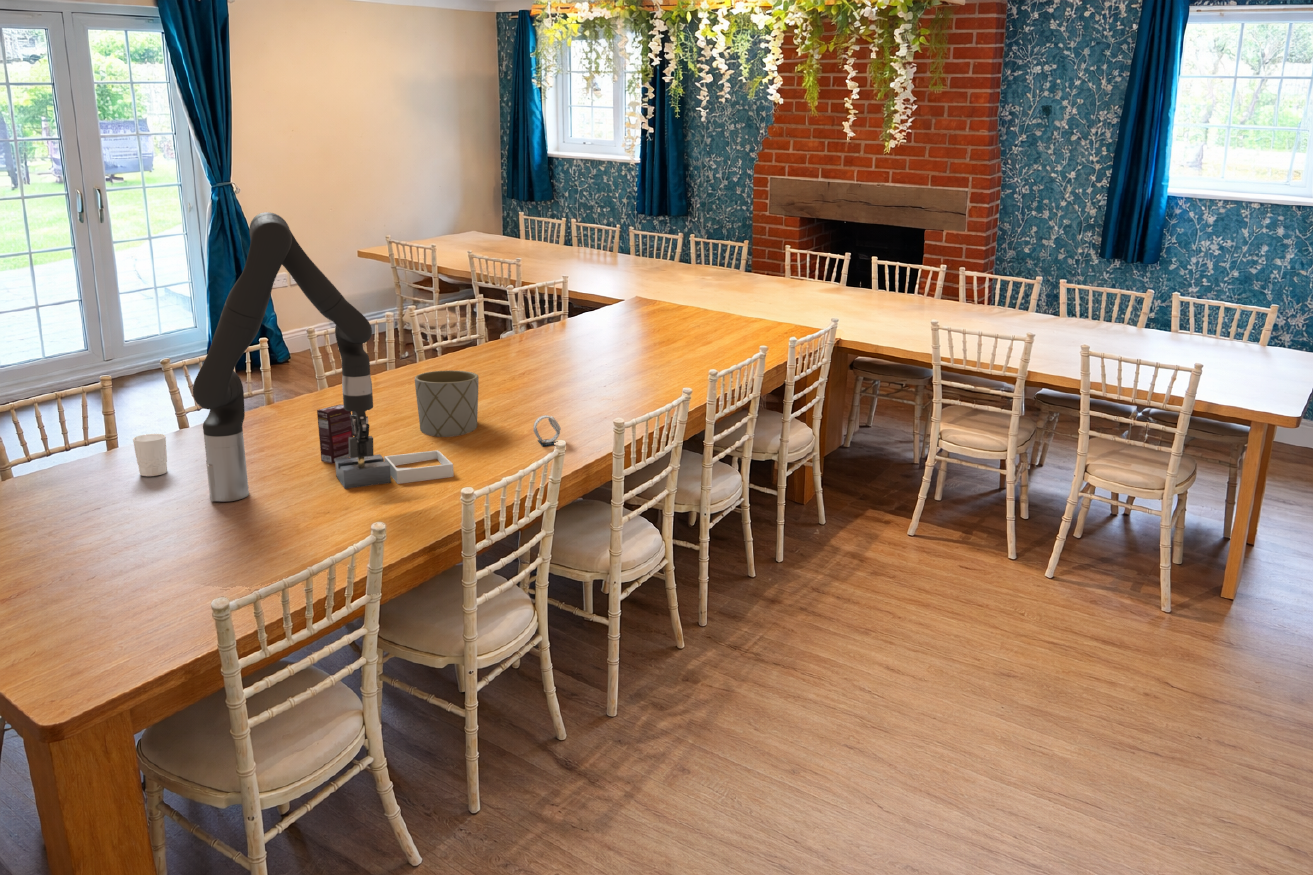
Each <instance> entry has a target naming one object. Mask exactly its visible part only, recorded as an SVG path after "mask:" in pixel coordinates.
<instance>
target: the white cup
mask: <svg viewBox="0 0 1313 875" xmlns="http://www.w3.org/2000/svg"><path fill="white" fill-rule="evenodd" d="M166 438H167V437H166V435H165V434H163V433H146V434H142V435H138V436H134V437H133V438H132V443H133V447H134V453H135V458H136V463H137V466H138V472H139V475H140V476H142V477H154V476H161V475H165V474H166V473H167V472H168V464H167V463H168V455H167V440H166Z"/></svg>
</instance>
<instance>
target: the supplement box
mask: <svg viewBox="0 0 1313 875" xmlns="http://www.w3.org/2000/svg"><path fill="white" fill-rule="evenodd" d="M316 413H317V414H316V415H317V423H318V424H317V426H318V427H317V428H318V436H319V450H320V459H321V462H324V463H327V464H328V463H329V464H332V465H335V459H343V458H350V456H349V444H348V437H354V436H353V435H352V426H351V420H350V415H352V412H351V411H346V410H345V409H344V405H343V404H340V403H339V404H336V405H331V406H328V407H323V408H320V409H317V410H316Z"/></svg>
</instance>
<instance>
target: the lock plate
mask: <svg viewBox="0 0 1313 875" xmlns="http://www.w3.org/2000/svg"><path fill="white" fill-rule="evenodd" d="M334 465H335V474H336V475H335V476H336V478H337V479H338V481H339V483H340V484H341V486H342V487H343V489H353V488H361V487H368V486H376V485H377V486H378V485H385V484H392V481H391V480H392V477H391V475H390V465H389V464H388V463H387V462H386V461H384V456H382V455H381V454H373V456H368V457H364V464H359V465H358V457H354V458H350V457H348V458H343V459H335V463H334Z"/></svg>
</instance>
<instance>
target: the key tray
mask: <svg viewBox="0 0 1313 875" xmlns="http://www.w3.org/2000/svg"><path fill="white" fill-rule="evenodd" d="M383 458H384V461H386V462H387V463H388V464H389V465H390V475H391V479H393V480H394V481H395V483H396V484H398V485H399V484H407V483H415V482H422V481H432V480H438V479H446V478H447V479H448V478H453V477H454V476H455V475H454V463H453V462H452V461H451V460H449V459H448V458H447V457H446V455H443V453H442V452H441V451H440V450H430V451H429V450H428V451H419V452H410V453H404V454H403V453H402V454H394V455H393V454H391V455H385V456H383ZM431 460H437V461H438V462H439V463H440V464H439V465H438V464H437V465H429V466H420V467H396V466H402V465H406V464H407V465H408V464H412V463H413V464H414V463H419V462H425V461H431Z"/></svg>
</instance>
